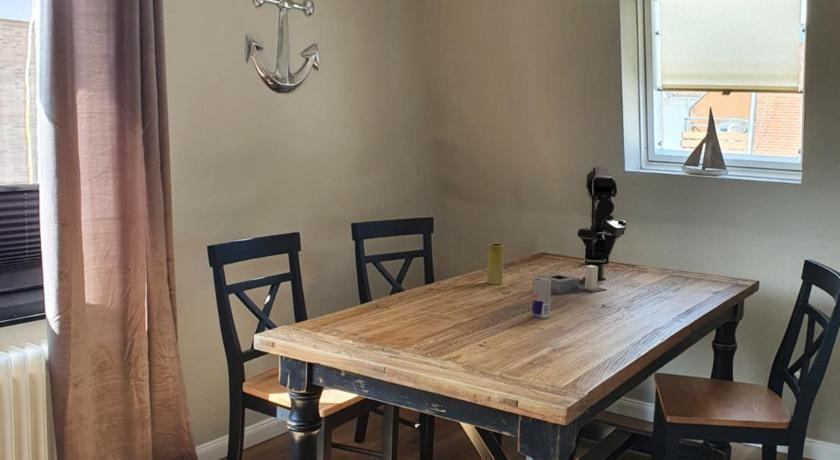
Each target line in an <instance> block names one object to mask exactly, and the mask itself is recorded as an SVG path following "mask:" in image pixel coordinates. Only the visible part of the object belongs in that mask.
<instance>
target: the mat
mask: <svg viewBox="0 0 840 460" xmlns="http://www.w3.org/2000/svg"><path fill="white" fill-rule="evenodd" d="M607 290H608V289H607V288H603V287H599V286H597V289H593V290H590V289H586V288H585V285H584V286H583V285H582V286H579V291H581V292H586V293H589V294H595V293H600V292H604V291H607Z"/></svg>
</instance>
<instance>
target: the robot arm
mask: <svg viewBox="0 0 840 460" xmlns="http://www.w3.org/2000/svg"><path fill="white" fill-rule="evenodd" d="M617 186H618V185H617V182H616V180H615V179H614V177H613V176H612V175H609V173H608V172H607V167H604V166H594V167H592V170H591V171H590V172H589V173H587V174H586V178H585V189H586V192H587V196H588V198H589V199H590V203H591V204H590V209H591V210H590V212H591V213H590V228H589V227H583V228H579V229H578V230H577V237H578V238H579V239H580V240H581V241H582V243H583V244H584V253H583V263H584V264H586V266H589V265H593V266H598V277H597V282H599V281H606V280H607V277H604V273H605V272H604V270H605V265H608V264H609V263H610V261H609V260H610V255H611V253H612V251H613V248H614V246H615V244H616V241H617V240H619V238H621V237H622V235H625V231H626V230H627V222H626V220H623V219H622V220H619V221H618V220H614V216H613V214H612V213H613V211H614V209H615V205H614V202H613V201H612V198H616V195H618V187H617ZM586 266H585V267H586ZM582 279H583V280H585V276H582Z"/></svg>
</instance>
